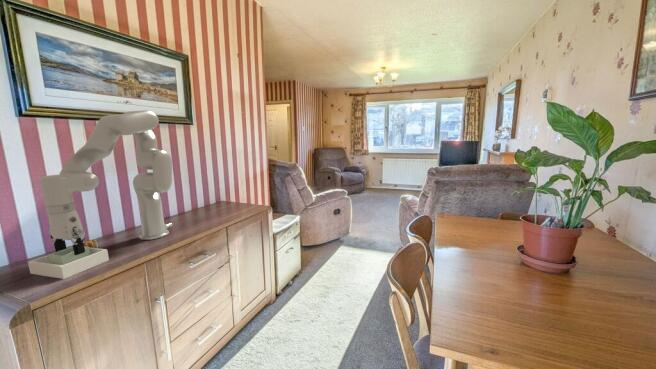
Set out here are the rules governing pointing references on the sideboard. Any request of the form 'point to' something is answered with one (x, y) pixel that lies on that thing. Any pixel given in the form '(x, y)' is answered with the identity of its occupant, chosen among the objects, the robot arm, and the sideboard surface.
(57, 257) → the small crate
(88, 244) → the pastry
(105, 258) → the big crate
